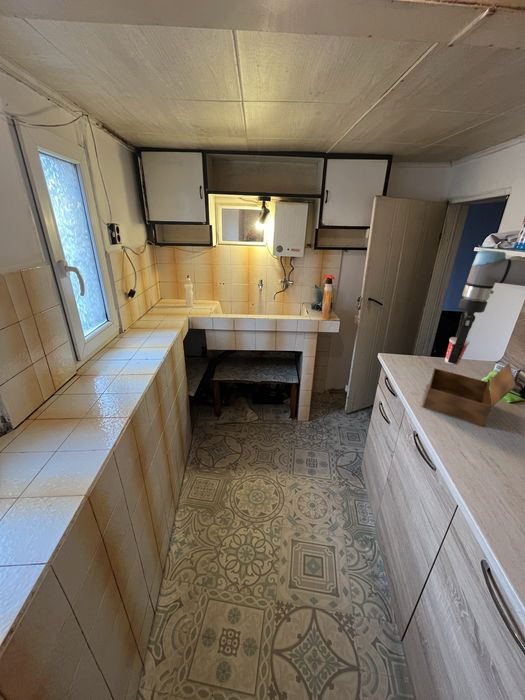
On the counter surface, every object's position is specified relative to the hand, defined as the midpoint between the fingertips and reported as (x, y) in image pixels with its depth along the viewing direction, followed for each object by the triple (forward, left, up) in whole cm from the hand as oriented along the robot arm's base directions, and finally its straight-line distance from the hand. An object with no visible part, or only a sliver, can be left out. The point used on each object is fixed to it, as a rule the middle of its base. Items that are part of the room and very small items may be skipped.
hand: (452, 359), depth 105 cm
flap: (-16, 0, -4) cm, 16 cm away
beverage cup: (0, 0, -1) cm, 1 cm away
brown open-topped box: (-5, 0, -18) cm, 19 cm away
